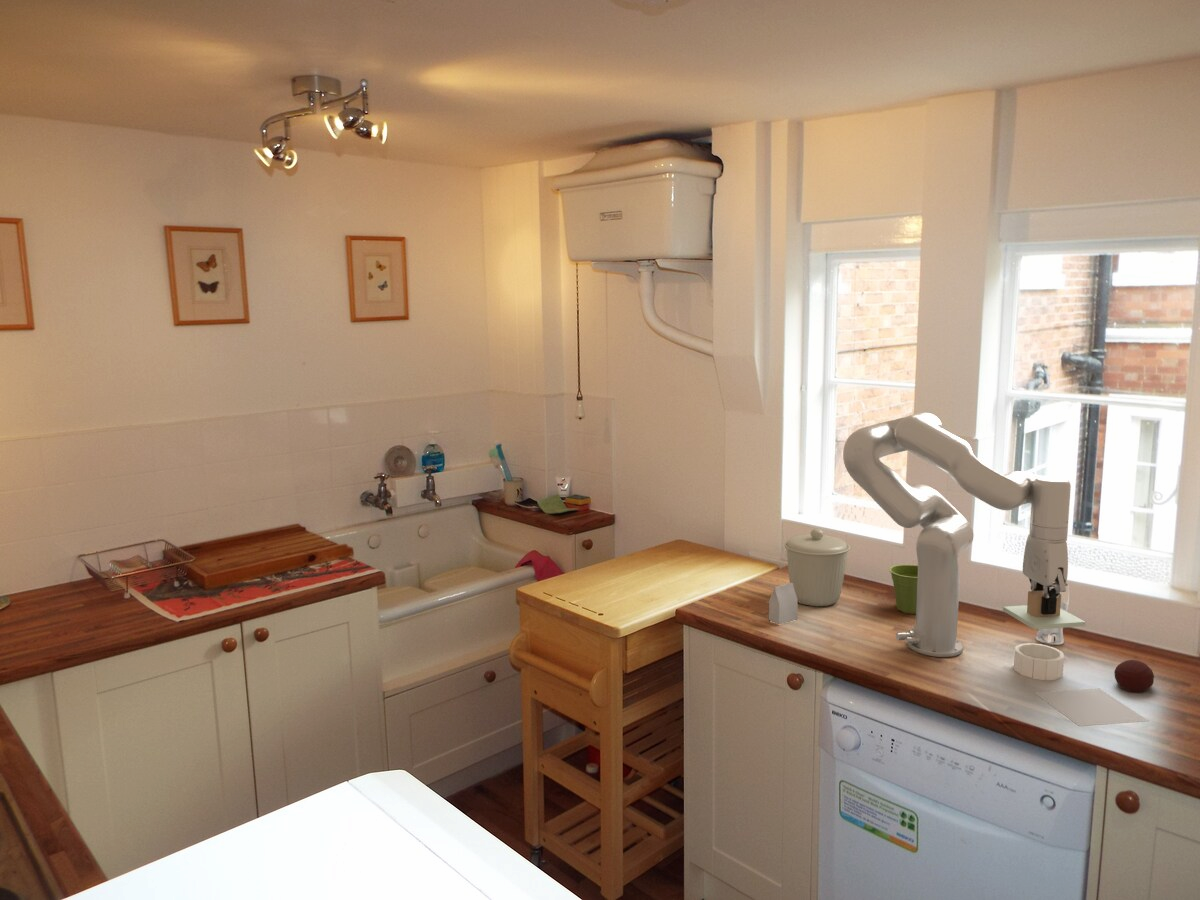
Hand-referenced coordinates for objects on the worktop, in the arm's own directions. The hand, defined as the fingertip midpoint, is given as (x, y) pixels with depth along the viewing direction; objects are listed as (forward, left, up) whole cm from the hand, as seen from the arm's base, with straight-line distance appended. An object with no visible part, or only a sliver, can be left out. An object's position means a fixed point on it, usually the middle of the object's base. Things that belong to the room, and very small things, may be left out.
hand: (1043, 610), depth 198 cm
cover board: (0, 0, -2) cm, 2 cm away
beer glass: (+14, +17, -15) cm, 27 cm away
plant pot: (-10, +43, -15) cm, 47 cm away
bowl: (0, 0, -15) cm, 15 cm away
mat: (0, -18, -15) cm, 23 cm away
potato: (+15, -10, -15) cm, 24 cm away
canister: (-33, +54, -15) cm, 65 cm away
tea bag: (-47, +40, -15) cm, 64 cm away
